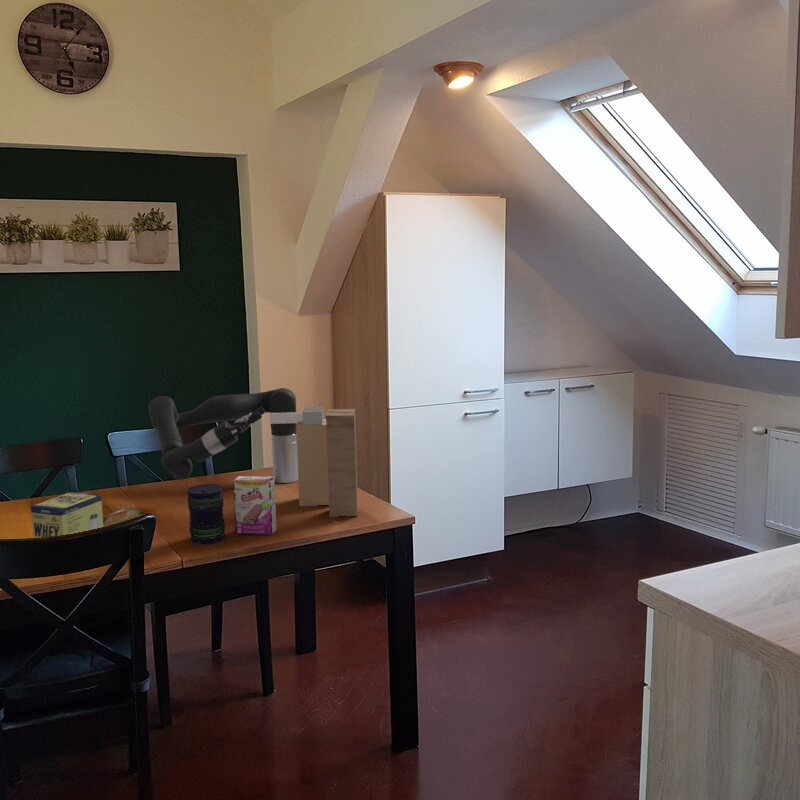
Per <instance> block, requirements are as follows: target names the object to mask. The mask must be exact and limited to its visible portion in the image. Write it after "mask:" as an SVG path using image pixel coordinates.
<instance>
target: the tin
mask: <svg viewBox="0 0 800 800" xmlns="http://www.w3.org/2000/svg"><path fill="white" fill-rule="evenodd" d="M143 515H145V513H144V511H143V510H142V509H141V508H140V507H134V506H133V507H132V506H131V507H126V508H122V509H120V510H118V511H114V512H110V513H108V514H106V515H103V526H109V525H112V524H115V523H119V522H123V521H127V520H129V519H132V518H135V517H139V516H143Z"/></svg>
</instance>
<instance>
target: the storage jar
mask: <svg viewBox="0 0 800 800" xmlns="http://www.w3.org/2000/svg"><path fill="white" fill-rule="evenodd" d="M186 491H187V504H188V505H187V507H188V510H189V535H190V543H191V542H192V544H193V543H194V545H197V546H198V545H199V546H208V545H209V546H211V545H216V544H218V543H222V542H224V541H225V540H226V525H225V518H224V493H223V486H222V485H220V484H216V483H215V484H214V483H207V484H198V485H193V486H190V487H188V488H187V490H186ZM224 539H225V540H224ZM221 541H222V542H221ZM215 543H216V544H215ZM210 544H211V545H210Z"/></svg>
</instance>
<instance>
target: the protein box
mask: <svg viewBox="0 0 800 800" xmlns="http://www.w3.org/2000/svg"><path fill="white" fill-rule="evenodd" d="M102 503H103V502H102V494H96V493H87V492H77V491H70V492H67V493H64V494H62V495H59V496H56V497H54V498H50V499H48V500H46V501H45V500H44V501H41V502H39V503H35V504H33V505H30V511H31V512H30V514H31V523H32V534H33V539H34V538H41V537H51V536H60V535H66V534H73V533H78V532H83V531H88V530H92V529H97V528H101V527H104V526H103V517H104V515H103V504H102Z"/></svg>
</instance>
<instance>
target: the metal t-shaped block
mask: <svg viewBox="0 0 800 800" xmlns="http://www.w3.org/2000/svg"><path fill="white" fill-rule="evenodd" d="M324 419H325V407H324V406H309V407H308V406H305V408H304V409H303V411H302V412H301V411H296V412H288V413H270V412H269V424H270V425H271V424H280V423H303V425H321V424H322V423H323V421H324Z"/></svg>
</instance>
